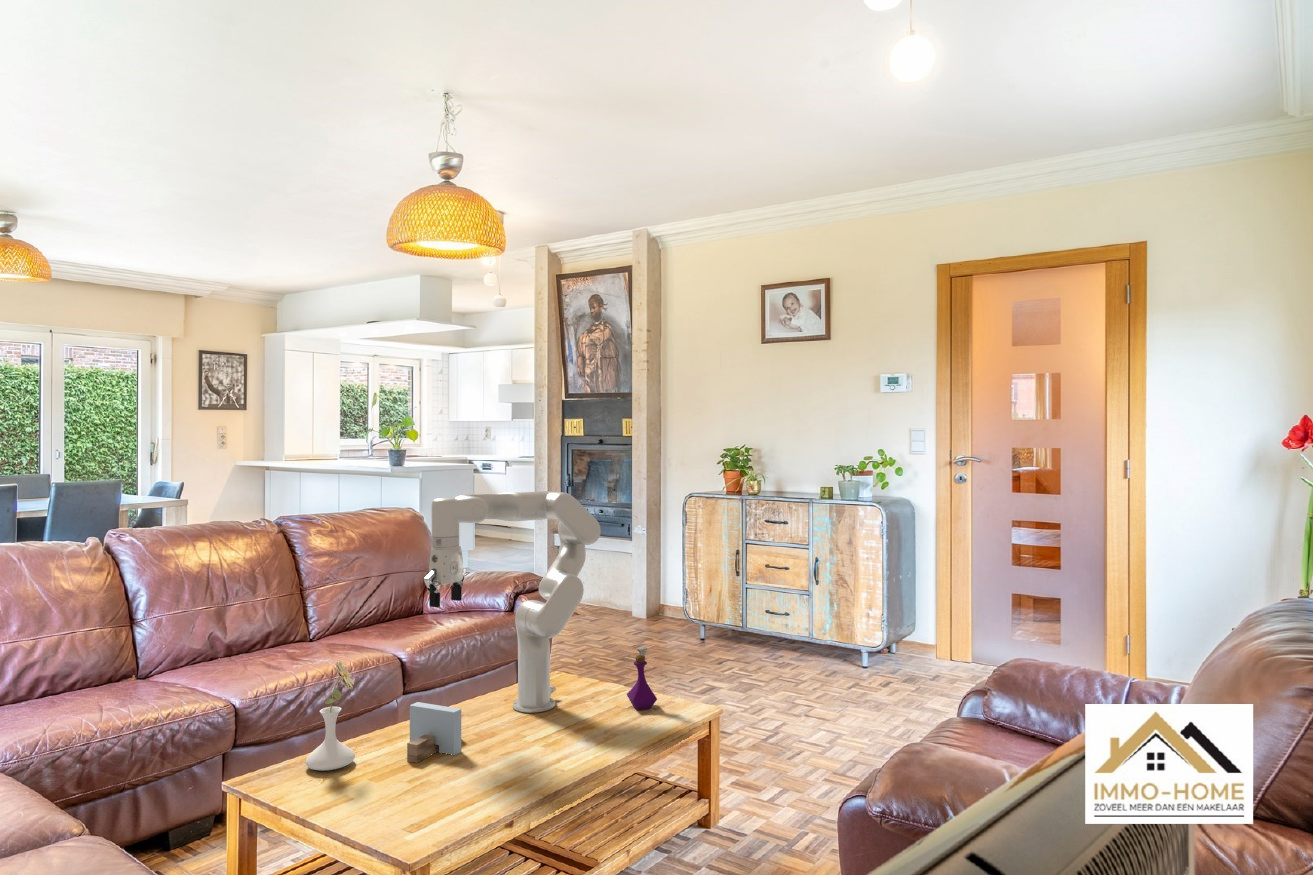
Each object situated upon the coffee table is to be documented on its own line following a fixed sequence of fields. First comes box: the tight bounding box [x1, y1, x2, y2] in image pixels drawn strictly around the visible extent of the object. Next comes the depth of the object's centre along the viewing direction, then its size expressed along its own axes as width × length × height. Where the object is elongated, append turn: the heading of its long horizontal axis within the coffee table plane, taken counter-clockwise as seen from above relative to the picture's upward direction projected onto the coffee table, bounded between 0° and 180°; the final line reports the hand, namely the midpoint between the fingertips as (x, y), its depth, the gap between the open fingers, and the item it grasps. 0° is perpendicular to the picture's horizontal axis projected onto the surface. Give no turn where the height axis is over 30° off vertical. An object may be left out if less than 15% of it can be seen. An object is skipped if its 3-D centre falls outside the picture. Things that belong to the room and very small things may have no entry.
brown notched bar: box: [406, 735, 439, 764], centre depth 216 cm, size 18×3×4 cm, turn 157°
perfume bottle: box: [626, 647, 658, 711], centre depth 250 cm, size 8×8×18 cm
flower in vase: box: [304, 660, 356, 771], centre depth 206 cm, size 13×11×25 cm
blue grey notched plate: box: [409, 701, 462, 756], centre depth 216 cm, size 3×14×11 cm, turn 67°
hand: (445, 603), depth 234 cm, fingers open, 9 cm apart
